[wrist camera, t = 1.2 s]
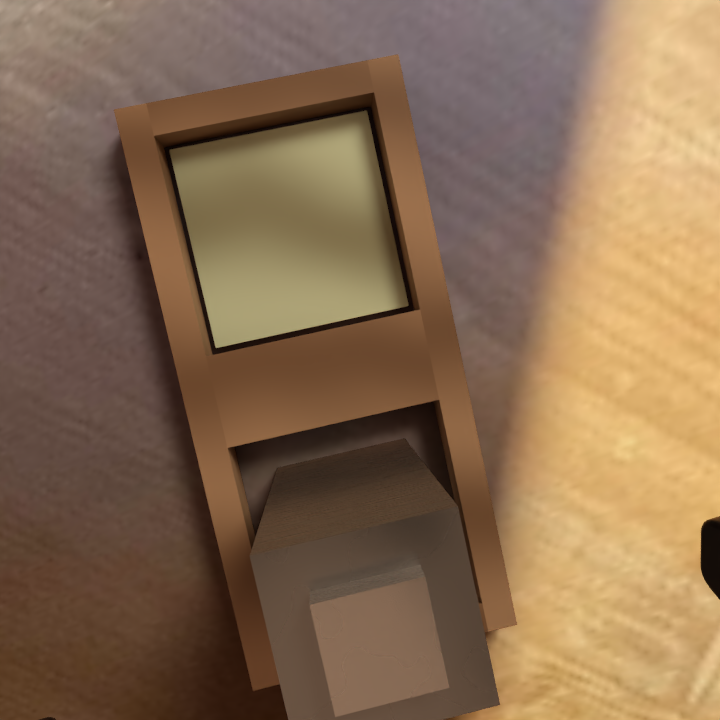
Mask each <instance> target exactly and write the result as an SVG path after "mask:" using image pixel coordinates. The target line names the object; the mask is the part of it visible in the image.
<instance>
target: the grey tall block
mask: <svg viewBox="0 0 720 720" xmlns="http://www.w3.org/2000/svg"><path fill="white" fill-rule="evenodd" d="M250 560H251V564H252V568H253V572H254V577H255V581H256V585H257V589H258V593H259V598H260V602H261V606H262V610H263V615H264V619H265V623H266V627H267V632H268V636H269V640H270V644H271V649H272V653H273V657H274V661H275V666H276V670H277V674H278V678H279V683H280V687H281V691H282V695H283V699H284V704H285V708H286V712H287V716H288V720H443V719H447V718H451V717H455V716H458V715H462V714H466V713H470V712H474V711H478V710H482V709H485V708H489V707H493V706H497V705H500V703H499V698H498V693H497V688H496V684H495V679H494V674H493V669H492V665H491V660H490V655H489V651H488V646H487V641H486V636H485V632H484V627H483V622H482V618H481V613H480V608H479V603H478V599H477V594H476V589H475V585H474V580H473V575H472V570H471V566H470V561H469V556H468V552H467V547H466V542H465V537H464V533H463V528H462V523H461V519H460V514H459V509H458V506H457V504H456V503H455V502H454V501H453V499H452V498H451V497H450V496H449V494H448V493H447V492H446V490H445V489H444V488H443V487H442V485H441V484H440V483H439V481H438V480H437V479H436V478H435V476H434V475H433V474H432V473H431V471H430V470H429V469H428V467H427V466H426V465H425V464H424V462H423V461H422V460H421V459H420V457H419V456H418V455H417V453H416V452H415V451H414V450H413V448H412V447H411V446H410V445H409V443H408V442H407V441H406V439H405V438H404V439H400V440H395V441H391V442H387V443H382V444H378V445H374V446H369V447H365V448H361V449H356V450H352V451H348V452H343V453H339V454H335V455H330V456H326V457H322V458H317V459H313V460H309V461H304V462H300V463H296V464H291V465H287V466H283V467H278V468H277V471H276V474H275V477H274V480H273V483H272V487H271V490H270V493H269V496H268V499H267V502H266V506H265V509H264V512H263V515H262V518H261V521H260V525H259V528H258V531H257V534H256V537H255V540H254V544H253V547H252V550H251V553H250Z"/></svg>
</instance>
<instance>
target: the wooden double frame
mask: <svg viewBox="0 0 720 720" xmlns="http://www.w3.org/2000/svg"><path fill="white" fill-rule="evenodd" d="M366 107H371V109H372V114H373V119H374V124H375V128H376V133H377V138H378V142H379V147H380V152H381V157H382V161H383V166H384V171H385V175H386V180H387V185H388V189H389V194H390V199H391V204H392V208H393V213H394V218H395V222H396V227H397V232H398V237H399V241H400V246H401V251H402V255H403V260H404V265H405V270H406V274H407V279H408V284H409V288H410V293H411V298H412V302H413V307H414V311H411V312H406V313H402V314H397V315H393V316H388V317H384V318H379V319H374V320H370V321H365V322H361V323H356V324H352V325H347V326H343V327H338V328H333V329H329V330H324V331H320V332H315V333H311V334H306V335H302V336H297V337H292V338H288V339H283V340H279V341H274V342H270V343H265V344H260V345H256V346H251V347H247V348H242V349H238V350H233V351H229V352H224V353H219V354H215V355H213V354H212V349H211V345H210V341H209V337H208V332H207V328H206V324H205V320H204V315H203V311H202V307H201V303H200V298H199V294H198V290H197V286H196V281H195V277H194V273H193V269H192V264H191V260H190V256H189V252H188V247H187V243H186V239H185V235H184V230H183V226H182V222H181V218H180V213H179V209H178V205H177V201H176V196H175V192H174V188H173V184H172V179H171V175H170V171H169V167H168V162H167V158H166V154H165V149H164V148H165V147H170V146H176V145H181V144H186V143H191V142H196V141H201V140H206V139H211V138H216V137H221V136H226V135H231V134H236V133H241V132H246V131H251V130H256V129H261V128H266V127H271V126H276V125H281V124H286V123H291V122H296V121H301V120H306V119H311V118H316V117H321V116H326V115H331V114H336V113H341V112H346V111H351V110H356V109H361V108H366ZM114 112H115V116H116V121H117V125H118V129H119V133H120V137H121V141H122V146H123V150H124V154H125V158H126V162H127V167H128V171H129V175H130V179H131V183H132V187H133V192H134V196H135V200H136V204H137V208H138V212H139V217H140V221H141V225H142V229H143V233H144V238H145V242H146V246H147V250H148V254H149V258H150V263H151V267H152V271H153V275H154V279H155V283H156V288H157V292H158V296H159V300H160V304H161V309H162V313H163V317H164V321H165V325H166V329H167V334H168V338H169V342H170V346H171V350H172V355H173V359H174V363H175V367H176V371H177V375H178V380H179V384H180V388H181V392H182V396H183V400H184V405H185V409H186V413H187V417H188V421H189V426H190V430H191V434H192V438H193V442H194V446H195V451H196V455H197V459H198V463H199V467H200V471H201V476H202V480H203V484H204V488H205V492H206V497H207V501H208V505H209V509H210V513H211V517H212V522H213V526H214V530H215V534H216V538H217V543H218V547H219V551H220V555H221V559H222V563H223V568H224V572H225V576H226V580H227V584H228V588H229V593H230V597H231V601H232V605H233V609H234V614H235V618H236V622H237V626H238V630H239V634H240V639H241V643H242V647H243V651H244V655H245V660H246V664H247V668H248V672H249V676H250V680H251V685H252V689H253V691H255V690H259V689H263V688H267V687H271V686H275V685H279V684H280V683H279V678H278V674H277V670H276V666H275V661H274V657H273V653H272V649H271V644H270V640H269V636H268V632H267V627H266V623H265V619H264V615H263V610H262V606H261V602H260V598H259V593H258V589H257V585H256V581H255V577H254V572H253V568H252V564H251V560H250V553H251V550H252V547H253V544H254V540H255V532H254V528H253V524H252V520H251V515H250V511H249V507H248V503H247V498H246V494H245V490H244V486H243V481H242V477H241V473H240V469H239V464H238V460H237V456H236V452H235V447H234V446H238V445H243V444H247V443H251V442H256V441H260V440H265V439H269V438H273V437H278V436H282V435H286V434H291V433H295V432H300V431H304V430H308V429H313V428H317V427H322V426H326V425H330V424H335V423H339V422H343V421H348V420H352V419H357V418H361V417H365V416H370V415H374V414H378V413H383V412H387V411H392V410H396V409H400V408H405V407H409V406H413V405H418V404H422V403H427V402H431V401H434V406H435V411H436V415H437V420H438V425H439V430H440V434H441V439H442V444H443V448H444V453H445V458H446V463H447V467H448V472H449V477H450V481H451V486H452V491H453V495H454V500H455V503H456V504H457V506H458V509H459V514H460V519H461V523H462V528H463V533H464V537H465V542H466V547H467V552H468V556H469V561H470V566H471V570H472V575H473V580H474V585H475V589H476V594H477V599H478V603H479V608H480V613H481V618H482V622H483V627H484V632H489V631H493V630H497V629H501V628H505V627H509V626H513V625H517V622H516V617H515V612H514V607H513V603H512V598H511V593H510V588H509V583H508V579H507V574H506V569H505V564H504V559H503V555H502V550H501V545H500V540H499V535H498V531H497V526H496V521H495V516H494V511H493V507H492V502H491V497H490V492H489V487H488V483H487V478H486V473H485V468H484V464H483V459H482V454H481V449H480V444H479V440H478V435H477V430H476V425H475V420H474V416H473V411H472V406H471V401H470V396H469V392H468V387H467V382H466V377H465V372H464V368H463V363H462V358H461V353H460V348H459V344H458V339H457V334H456V329H455V324H454V320H453V315H452V310H451V305H450V300H449V296H448V291H447V286H446V281H445V276H444V272H443V267H442V262H441V257H440V252H439V248H438V243H437V238H436V233H435V228H434V224H433V219H432V214H431V209H430V204H429V200H428V195H427V190H426V185H425V180H424V176H423V171H422V166H421V161H420V156H419V152H418V147H417V142H416V137H415V132H414V128H413V123H412V118H411V113H410V108H409V104H408V99H407V94H406V89H405V84H404V80H403V75H402V70H401V65H400V60H399V56H398V55H392V56H387V57H382V58H377V59H372V60H367V61H362V62H356V63H351V64H346V65H341V66H336V67H331V68H326V69H320V70H315V71H310V72H305V73H300V74H295V75H290V76H285V77H279V78H274V79H269V80H264V81H259V82H254V83H249V84H243V85H238V86H233V87H228V88H223V89H218V90H213V91H207V92H202V93H197V94H192V95H187V96H182V97H177V98H172V99H166V100H161V101H156V102H151V103H146V104H141V105H136V106H130V107H125V108H120V109H115V110H114ZM169 151H170V155H171V160H172V164H173V168H174V172H175V177H176V181H177V185H178V189H179V194H180V198H181V202H182V206H183V211H184V215H185V219H186V224H187V228H188V232H189V236H190V241H191V245H192V249H193V253H194V258H195V262H196V266H197V270H198V275H199V279H200V283H201V287H202V292H203V296H204V300H205V305H206V309H207V313H208V317H209V322H210V326H211V330H212V334H213V339H214V343H215V347H216V348H219V347H224V346H228V345H233V344H237V343H242V342H246V341H251V340H256V339H260V338H265V337H269V336H274V335H278V334H283V333H288V332H292V331H297V330H301V329H306V328H310V327H315V326H320V325H324V324H329V323H333V322H338V321H342V320H347V319H352V318H356V317H361V316H365V315H370V314H374V313H379V312H384V311H388V310H393V309H397V308H402V307H406V306H409V305H408V300H407V296H406V291H405V286H404V282H403V277H402V272H401V267H400V263H399V258H398V253H397V249H396V244H395V239H394V235H393V230H392V225H391V220H390V216H389V211H388V206H387V202H386V197H385V192H384V188H383V183H382V178H381V173H380V169H379V164H378V159H377V155H376V150H375V145H374V141H373V136H372V131H371V127H370V122H369V117H368V112H367V110H366V111H361V112H356V113H351V114H346V115H341V116H336V117H331V118H326V119H321V120H316V121H311V122H306V123H301V124H296V125H291V126H286V127H281V128H276V129H271V130H266V131H261V132H256V133H251V134H246V135H241V136H236V137H231V138H226V139H221V140H216V141H211V142H206V143H201V144H196V145H191V146H186V147H181V148H176V149H171V150H169Z"/></svg>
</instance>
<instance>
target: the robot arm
mask: <svg viewBox="0 0 720 720" xmlns="http://www.w3.org/2000/svg"><path fill="white" fill-rule="evenodd" d="M701 571H702V575H703V577H704V579H705V581H706V583H707V584H708V586H709V587H710V588H711V590H712V591H713V592H714V593H715V595H716V596H717V597H718V598H719V599H720V516H719V517H716V518H712V519H709V520H707V521H705V522H704V524H703V526H702V528H701ZM40 720H56V719H55V718H52V717H47V718H43V719H40Z"/></svg>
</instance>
